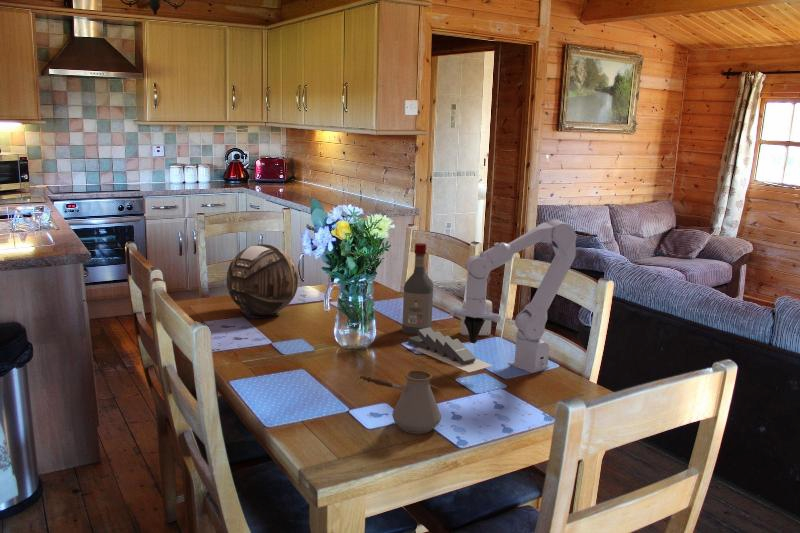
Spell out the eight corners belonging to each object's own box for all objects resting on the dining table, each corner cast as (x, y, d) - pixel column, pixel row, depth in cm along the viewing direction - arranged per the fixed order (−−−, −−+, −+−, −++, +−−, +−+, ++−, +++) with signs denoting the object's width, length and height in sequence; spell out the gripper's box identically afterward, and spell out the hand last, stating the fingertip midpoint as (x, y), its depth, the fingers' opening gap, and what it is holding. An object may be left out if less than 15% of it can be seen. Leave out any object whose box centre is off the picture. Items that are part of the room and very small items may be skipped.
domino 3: (456, 349, 213) (439, 330, 219) (444, 352, 210) (427, 333, 216) (454, 353, 214) (437, 334, 220) (442, 356, 211) (425, 337, 216)
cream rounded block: (488, 332, 238) (491, 297, 236) (492, 336, 234) (494, 300, 232) (459, 332, 237) (461, 297, 234) (462, 336, 233) (464, 300, 230)
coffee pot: (424, 413, 172) (426, 355, 168) (450, 431, 162) (453, 370, 159) (345, 429, 161) (346, 367, 158) (368, 450, 151) (370, 385, 148)
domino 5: (476, 357, 207) (457, 338, 212) (464, 360, 204) (445, 341, 209) (474, 361, 208) (455, 342, 213) (462, 365, 205) (443, 345, 210)
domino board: (493, 366, 206) (493, 365, 205) (469, 373, 199) (469, 372, 199) (438, 344, 224) (438, 343, 223) (414, 350, 217) (414, 349, 217)
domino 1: (438, 342, 219) (420, 335, 226) (427, 345, 216) (408, 337, 223) (438, 347, 220) (419, 339, 226) (426, 350, 216) (408, 342, 223)
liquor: (428, 336, 231) (432, 247, 224) (401, 334, 232) (404, 245, 226) (431, 328, 240) (436, 242, 233) (405, 326, 241) (409, 241, 235)
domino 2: (447, 345, 217) (430, 327, 222) (435, 348, 213) (418, 329, 219) (445, 349, 217) (428, 330, 223) (433, 352, 214) (416, 333, 220)
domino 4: (466, 353, 210) (448, 335, 216) (454, 357, 207) (436, 338, 212) (464, 358, 211) (446, 339, 216) (452, 361, 208) (434, 342, 213)
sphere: (312, 312, 254) (313, 244, 249) (264, 328, 233) (264, 255, 228) (261, 300, 267) (261, 236, 261) (211, 315, 246) (210, 245, 241)
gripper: (504, 297, 202) (501, 342, 205) (456, 291, 207) (454, 334, 210) (497, 302, 195) (494, 349, 198) (448, 296, 201) (446, 341, 204)
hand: (473, 342), depth 204 cm, fingers closed
